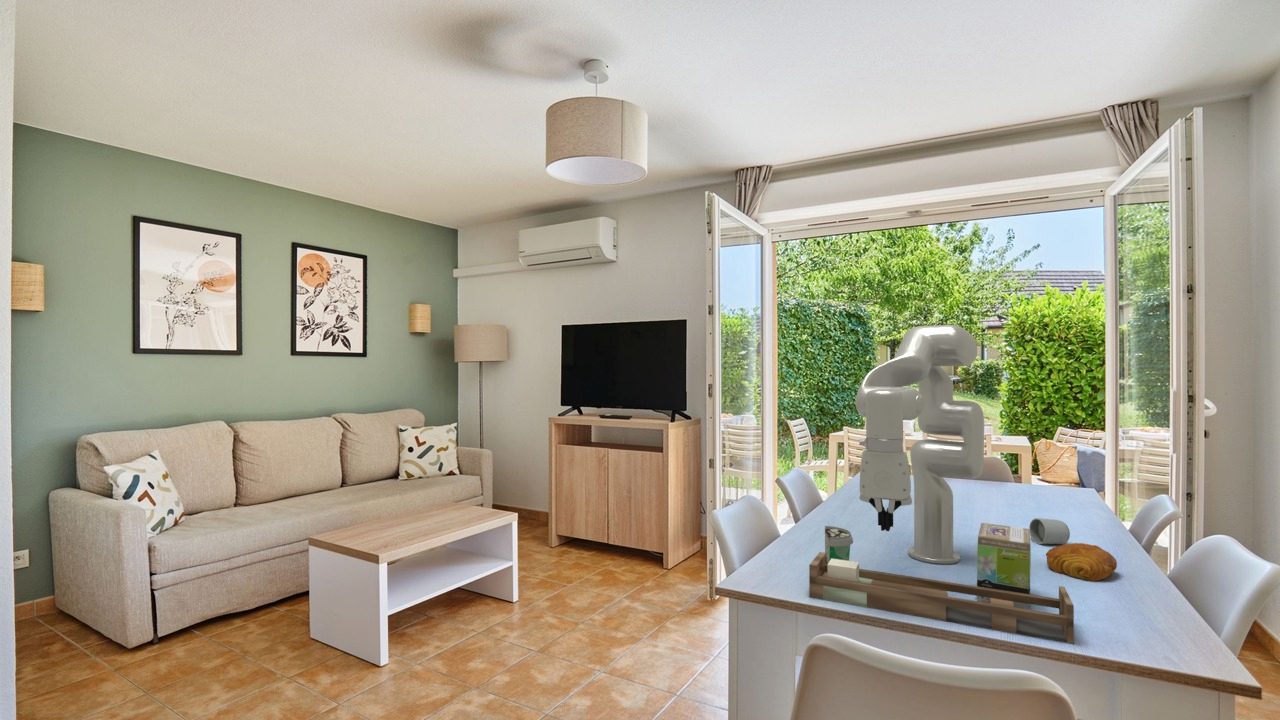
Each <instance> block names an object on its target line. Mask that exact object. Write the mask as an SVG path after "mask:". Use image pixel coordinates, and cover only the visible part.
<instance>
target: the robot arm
mask: <svg viewBox="0 0 1280 720" xmlns="http://www.w3.org/2000/svg"><path fill="white" fill-rule="evenodd" d="M975 339H976V338H975V337H974V336H973V335H972V334H971V333H970V332H968V331H967V330H966V329H965V328H963V327H961V326H958V325H955V324H941V325H940V324H939V325H937V324H935V325H919V326H914V327H912V328H910V329H908V330H907V331H906V333H905V334H904V336H903V338H902V340H901V341H900V344H899V347H898V349H897V351H896V353H895V355H894V358H890V360H887V361H884V362H883V363H882V364H880V365H878V366H877V367H874V368H873V369H872V370H870V371H869V372H868V373H866V375H865V376H864V378H863V380H862V382H861V384H860V386H859V388H858V391H857V393H856V396H855V408H856V411H857V412H858V414H859V415H860V416H861V417H863V418H865V430H866V431H865V438H863V439H862V438H861V439H859V441H858V442H859V443H858V444H859V446H862V447H864V448H865V450H863V451H862V452H861V453H862V454H861V459H860V467H859V468H860V469H859V500H860V501H862V502H865V503H867V504H868V503H869V504H870V505H871V506H872V507H873V508H874V509H875V511H876V512H877V525H878V526H880V531H883V532H884V531H886V532H890V531H891V528H893V527H894V512H895V511H896V510H897V509H899V508H900V507H903V506H904V507H905V506H911V505H914V506H913V507H914V508H913V515H914V516H913V518H914V519H913V522H914V523H913V525H914V526H913V529H914V531H913V532H914V533H913V535H914V537H913V538H914V541H913V542H914V543H913V545H914V546H913V547H909V548H908V550H907V554H908V556H909V557H911V558H913V559H915V560H918V561H921V562H924V563H925V562H926V563H932V564H936V565H937V564H938V565H940V564H941V565H947V564H948V565H953V564H956V563H959V562H960V561H961V556H960V554H959V553H958V552H956V551H954V493H953V490H952V488H951V487H950V485H949V484H948V482H947V481H946V480H945V478H946V477H949V478H956V479H967V480H972V479H973V480H974V479H978V478H979V477H981V475H982V473H983V471H984V465H985V463H984V461H985V459H984V457H985V416H984V411H983V408H982V407H981V405H980V404H979V403H977V402H975V401H971V400H954V382H953V380H952V378H951V377H950V375H949V374H948V373H947V371H946V370H944V368H942V367H968V366H970V365H972V364H973V363H974V362H975V361H976V359H977V355H978V345H977V341H976V340H975ZM916 383H918V390H917V389H916V388H913V387H908V386H911V385H913V384H916ZM915 419H917V426H918V428H919V430H920V431H922V432H923V433H925V434H928V435H936V436H949V437H960V438H962V439H963V441H954V440H945V439H944V440H943V439H942V440H941V439H920V440H917V441H915V442H914V443H913V444H912V446H910V450H909V454H910V455H909V456H910V463H911V469H912V475H913V477H912V478H913V499H912V495H911V490H912V484H911V472H910V464H909V457H908V454H907V452H905V451H904V421H913V420H915ZM883 500H886V501H888V505H887V508H886V509H885V507H884V503H883Z"/></svg>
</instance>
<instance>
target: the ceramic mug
mask: <svg viewBox="0 0 1280 720" xmlns="http://www.w3.org/2000/svg"><path fill="white" fill-rule="evenodd" d="M1028 529H1029V532H1030V539H1032V541H1033V542H1034V543H1035V544H1037V545H1064V544H1067V543H1068V542H1069V539H1070V537H1071V535H1070V534H1071V532H1070V529H1069V527H1068V525H1067V524H1066V523H1065V522H1064V521H1063V520H1059V519H1051V518H1039V517H1035V518H1033V519H1032V520H1031V521H1030V522H1029V528H1028Z"/></svg>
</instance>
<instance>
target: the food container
mask: <svg viewBox="0 0 1280 720" xmlns="http://www.w3.org/2000/svg"><path fill="white" fill-rule="evenodd" d="M853 543H854V539H853V535H852V532H851V531H850V530H848V529H846V528H842V527H839V526H832V525H824V550H825V552H824V553H826V564H828V563H829V561H830V560H831V558H832V559H839V560H846V561H850V556H851V555H850V552H851V545H852V544H853Z"/></svg>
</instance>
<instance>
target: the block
mask: <svg viewBox="0 0 1280 720" xmlns="http://www.w3.org/2000/svg"><path fill="white" fill-rule="evenodd" d="M859 569H860V562H859V561H853V560H849V561H846V560H839V559H832V558H831V560H830V561H829V563H828V577H830V578H836V579H843V580H849V581H855V582H858V581H859Z"/></svg>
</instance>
